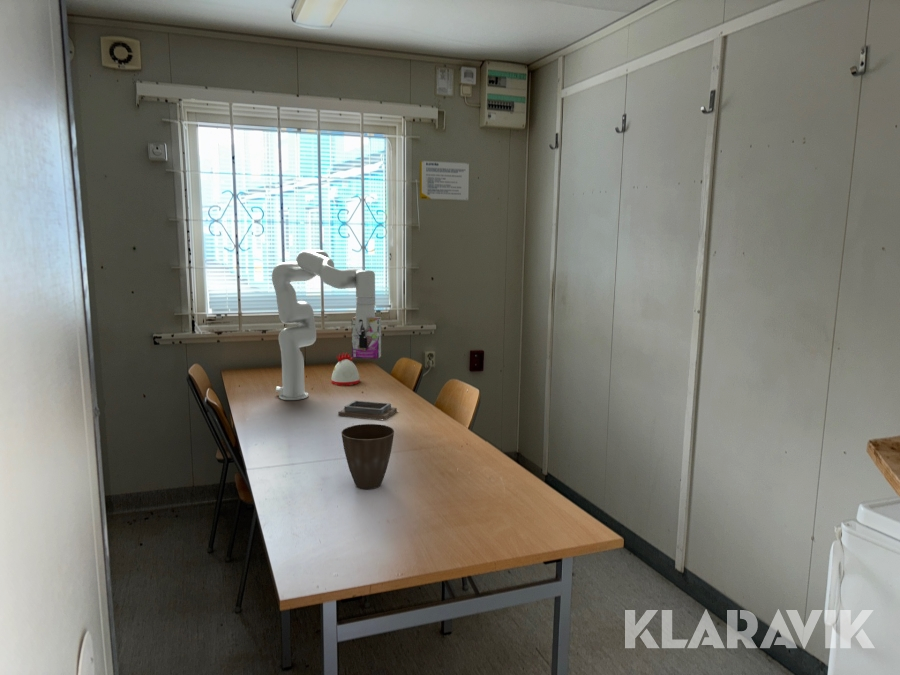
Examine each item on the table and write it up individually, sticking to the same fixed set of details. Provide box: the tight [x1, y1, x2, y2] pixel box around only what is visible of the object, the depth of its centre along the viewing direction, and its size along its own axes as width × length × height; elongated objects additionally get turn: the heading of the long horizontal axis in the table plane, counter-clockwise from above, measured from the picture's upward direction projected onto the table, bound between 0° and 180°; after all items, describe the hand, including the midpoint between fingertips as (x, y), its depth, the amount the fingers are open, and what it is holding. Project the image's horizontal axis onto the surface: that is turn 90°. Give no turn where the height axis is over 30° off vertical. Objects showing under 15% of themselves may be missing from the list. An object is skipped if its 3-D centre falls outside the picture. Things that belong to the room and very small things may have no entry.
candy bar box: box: [351, 315, 382, 360], centre depth 247 cm, size 11×5×16 cm, turn 84°
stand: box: [338, 400, 398, 421], centre depth 251 cm, size 13×20×4 cm, turn 74°
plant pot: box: [341, 423, 395, 490], centre depth 178 cm, size 15×15×16 cm
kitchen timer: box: [330, 352, 361, 386], centre depth 305 cm, size 14×14×15 cm
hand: (366, 346), depth 248 cm, fingers closed on candy bar box, 5 cm apart
